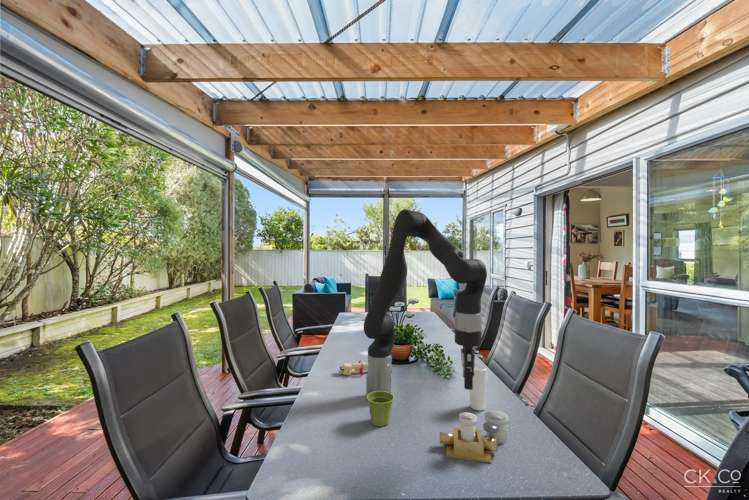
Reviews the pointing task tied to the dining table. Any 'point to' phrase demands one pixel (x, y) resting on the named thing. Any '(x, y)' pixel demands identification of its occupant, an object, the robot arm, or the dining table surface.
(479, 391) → the white tall cylinder
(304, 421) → the dining table surface
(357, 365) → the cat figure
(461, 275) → the robot arm
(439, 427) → the dining table surface
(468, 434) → the white mushroom shaped knob
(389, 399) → the plant pot
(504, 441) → the cylinder
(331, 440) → the dining table surface
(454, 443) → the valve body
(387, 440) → the dining table surface
